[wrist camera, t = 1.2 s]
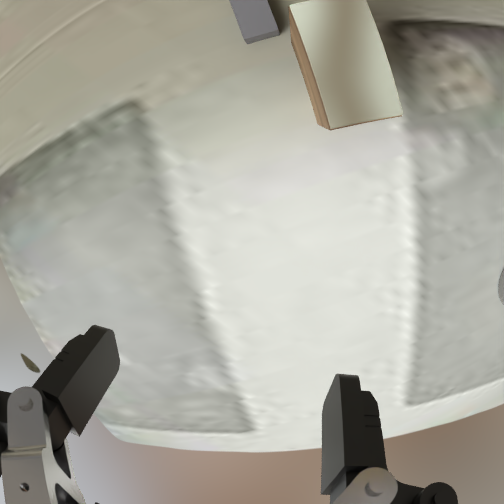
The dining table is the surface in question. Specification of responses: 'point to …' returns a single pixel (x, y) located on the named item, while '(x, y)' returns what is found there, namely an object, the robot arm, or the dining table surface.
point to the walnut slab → (343, 62)
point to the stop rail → (254, 19)
